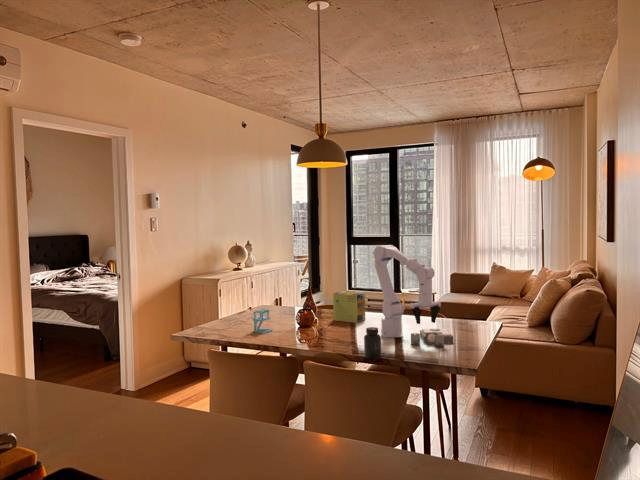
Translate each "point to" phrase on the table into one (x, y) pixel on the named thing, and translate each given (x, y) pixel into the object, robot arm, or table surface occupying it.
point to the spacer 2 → (439, 341)
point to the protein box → (349, 306)
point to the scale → (429, 335)
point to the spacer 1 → (415, 339)
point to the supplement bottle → (372, 343)
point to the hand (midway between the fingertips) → (425, 323)
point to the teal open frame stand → (261, 321)
